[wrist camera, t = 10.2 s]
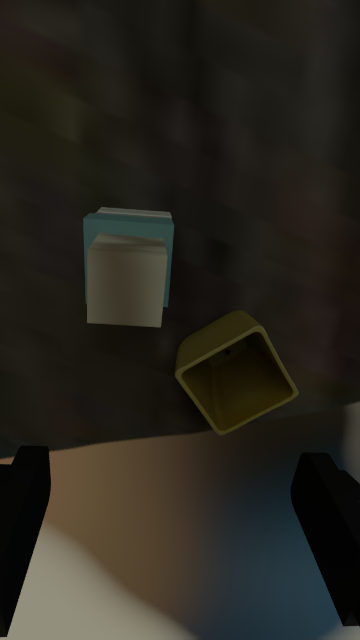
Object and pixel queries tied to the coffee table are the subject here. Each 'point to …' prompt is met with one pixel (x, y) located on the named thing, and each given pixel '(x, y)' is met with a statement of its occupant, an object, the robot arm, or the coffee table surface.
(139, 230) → the slab top
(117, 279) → the birch block
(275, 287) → the coffee table surface
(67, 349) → the coffee table surface
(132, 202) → the coffee table surface
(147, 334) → the coffee table surface
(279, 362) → the flower pot
